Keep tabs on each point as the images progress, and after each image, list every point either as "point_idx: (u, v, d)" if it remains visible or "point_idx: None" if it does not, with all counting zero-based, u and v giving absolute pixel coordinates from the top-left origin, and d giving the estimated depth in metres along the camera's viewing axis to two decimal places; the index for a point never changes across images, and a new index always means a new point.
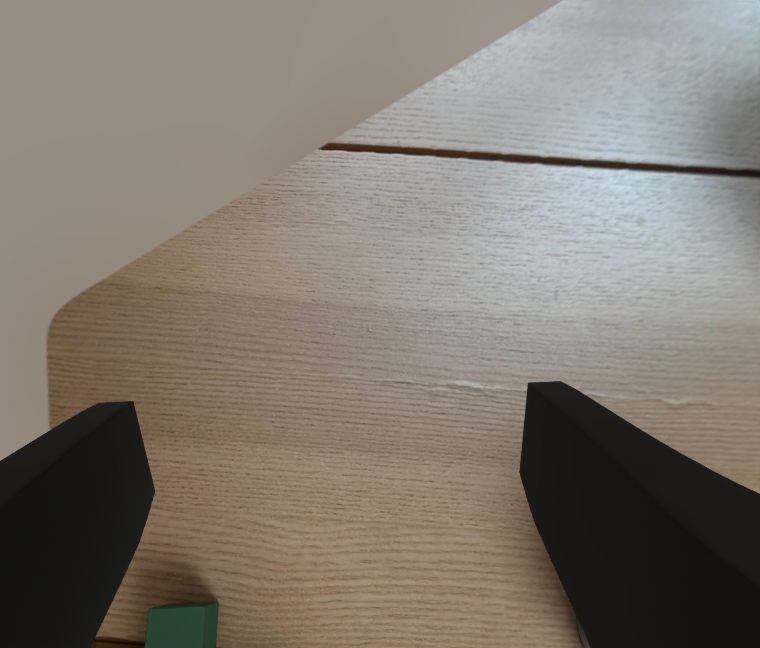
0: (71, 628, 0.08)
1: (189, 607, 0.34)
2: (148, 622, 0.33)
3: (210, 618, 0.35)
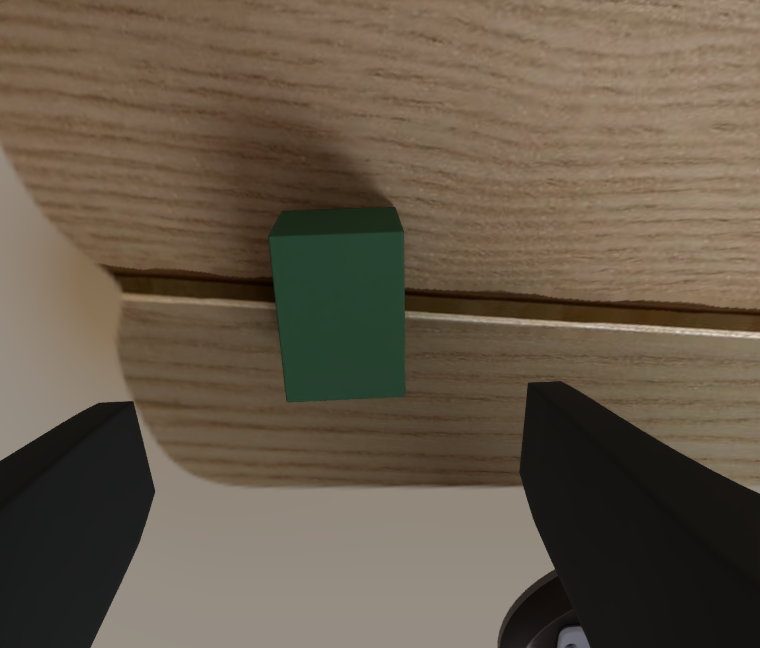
0: (71, 628, 0.08)
1: (366, 233, 0.14)
2: (274, 263, 0.14)
3: None
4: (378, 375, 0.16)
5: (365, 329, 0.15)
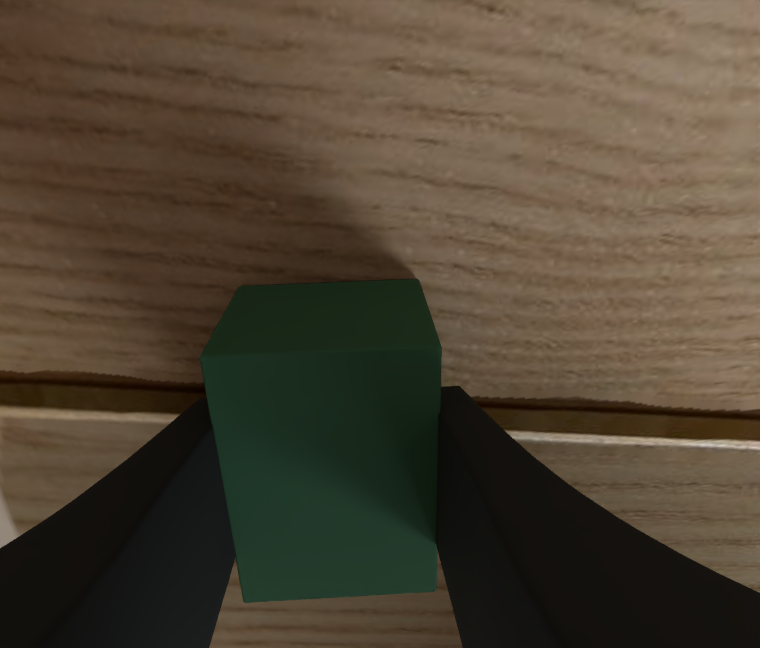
0: (199, 620, 0.08)
1: (374, 350, 0.08)
2: (212, 401, 0.08)
3: None
4: (394, 563, 0.10)
5: (372, 498, 0.09)
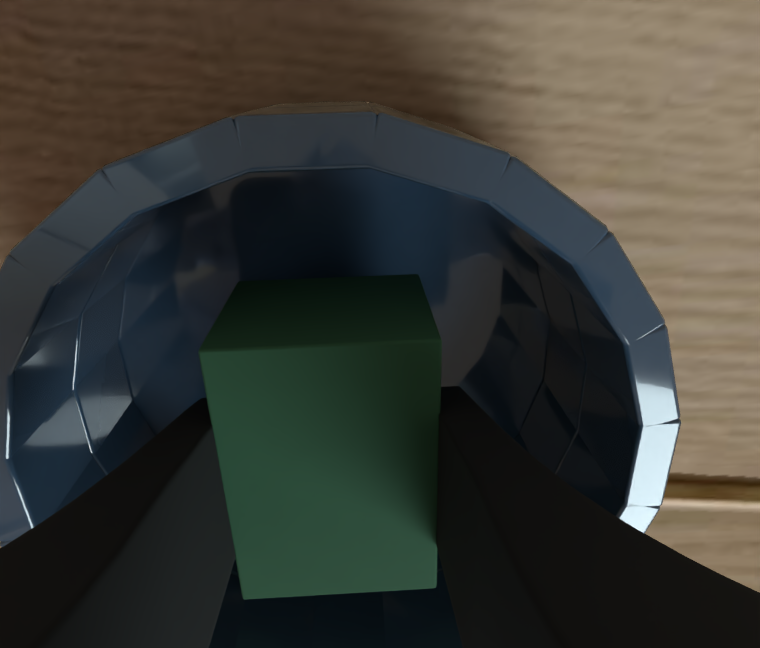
0: (199, 620, 0.08)
1: (374, 344, 0.08)
2: (211, 395, 0.08)
3: None
4: (394, 559, 0.10)
5: (372, 494, 0.09)
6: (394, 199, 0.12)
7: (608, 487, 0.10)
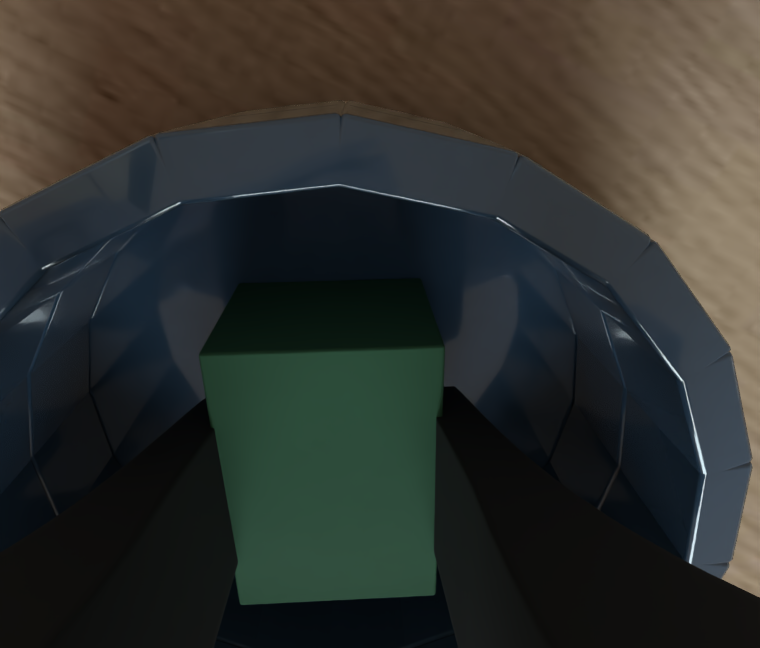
0: (204, 620, 0.08)
1: (377, 349, 0.08)
2: (211, 399, 0.08)
3: None
4: (393, 566, 0.09)
5: (371, 501, 0.09)
6: (492, 278, 0.11)
7: None
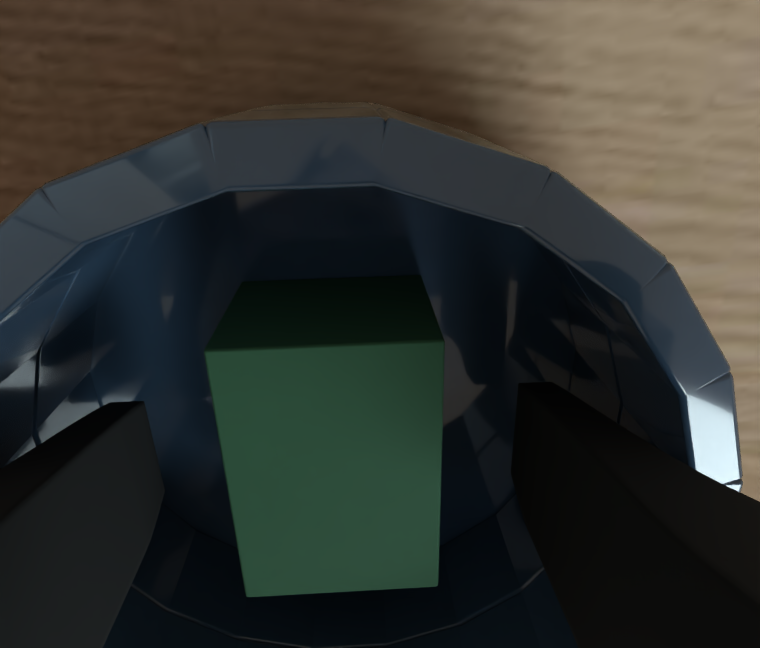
0: (84, 627, 0.08)
1: (378, 344, 0.08)
2: (216, 395, 0.08)
3: None
4: (397, 558, 0.10)
5: (374, 493, 0.09)
6: (400, 213, 0.10)
7: None
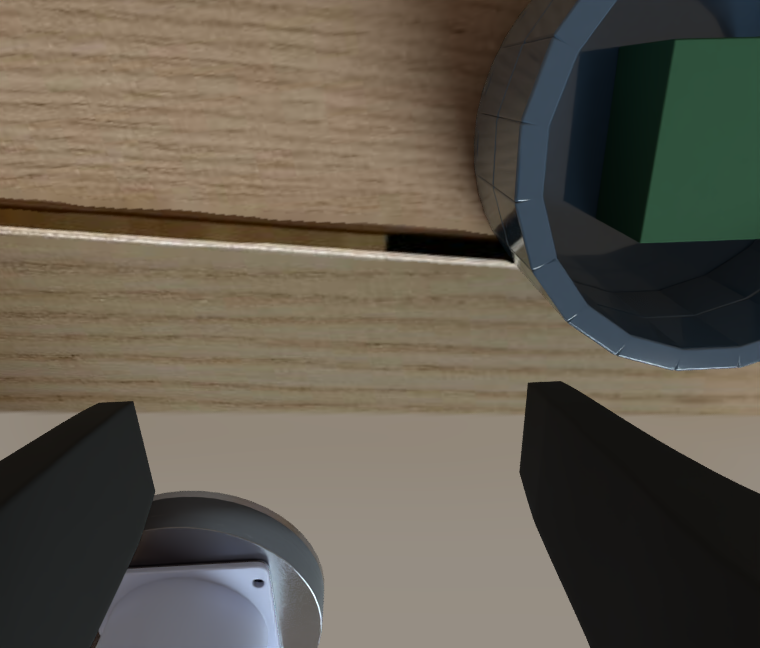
0: (71, 628, 0.08)
1: None
2: (672, 73, 0.13)
3: None
4: (744, 212, 0.15)
5: (745, 156, 0.14)
6: None
7: None
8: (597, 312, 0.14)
